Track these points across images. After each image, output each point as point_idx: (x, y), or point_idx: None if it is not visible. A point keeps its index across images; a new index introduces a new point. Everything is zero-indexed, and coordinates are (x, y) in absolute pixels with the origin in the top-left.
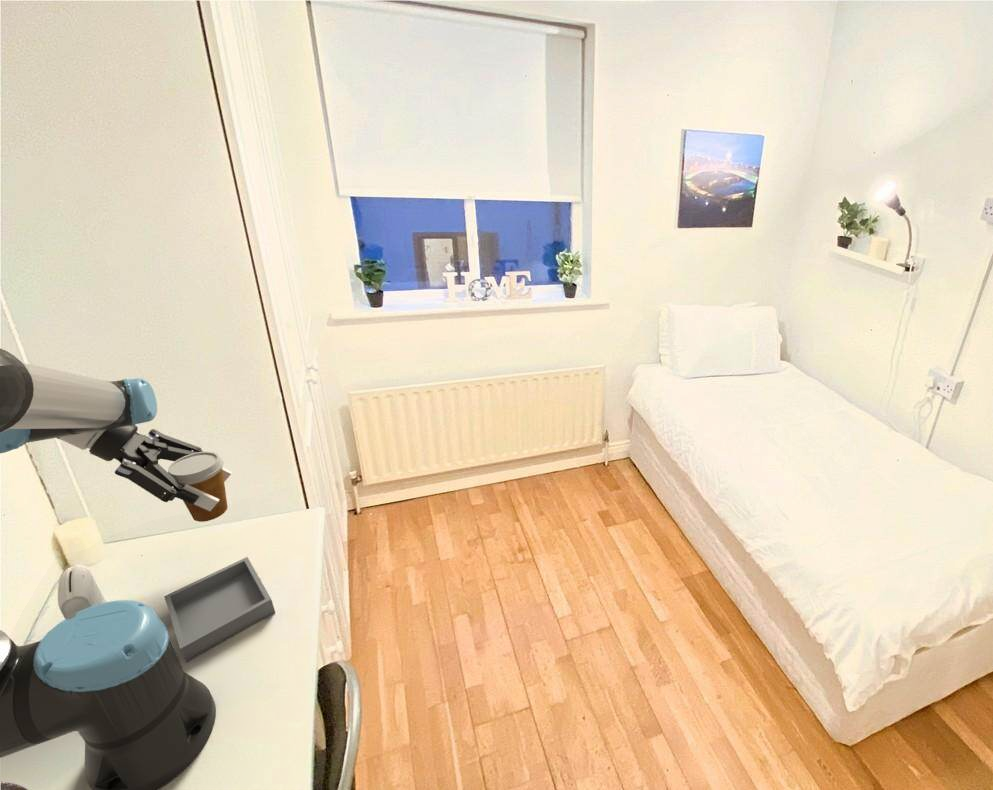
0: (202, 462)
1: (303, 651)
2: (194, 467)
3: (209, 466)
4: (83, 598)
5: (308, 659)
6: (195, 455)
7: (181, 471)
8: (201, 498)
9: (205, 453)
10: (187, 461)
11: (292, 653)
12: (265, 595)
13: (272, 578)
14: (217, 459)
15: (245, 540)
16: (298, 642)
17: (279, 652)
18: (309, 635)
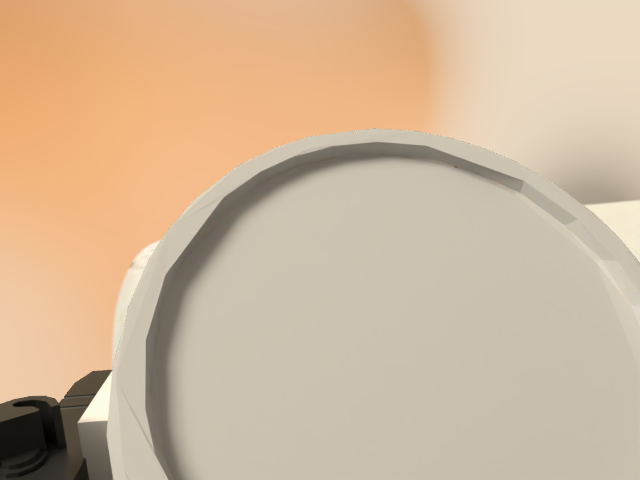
0: (375, 268)
1: (619, 210)
2: (478, 315)
3: (496, 160)
4: None
5: (633, 201)
6: (163, 418)
7: (572, 441)
8: None
9: (164, 296)
10: (317, 471)
11: (627, 227)
12: None
13: None
14: (368, 133)
15: None
16: (602, 221)
17: (630, 250)
18: (584, 205)
